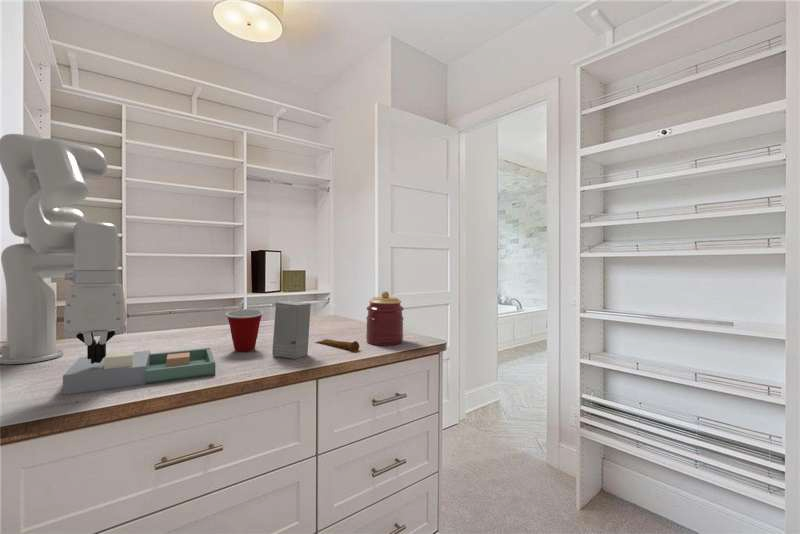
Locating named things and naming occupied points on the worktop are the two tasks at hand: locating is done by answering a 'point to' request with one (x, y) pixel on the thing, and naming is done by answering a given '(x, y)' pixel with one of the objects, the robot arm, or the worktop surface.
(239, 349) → the plastic cup
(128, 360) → the tile cream
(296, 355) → the skincare box
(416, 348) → the worktop surface
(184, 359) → the tile terracotta
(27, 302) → the robot arm
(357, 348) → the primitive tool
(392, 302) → the canister
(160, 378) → the tray
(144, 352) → the grey board
